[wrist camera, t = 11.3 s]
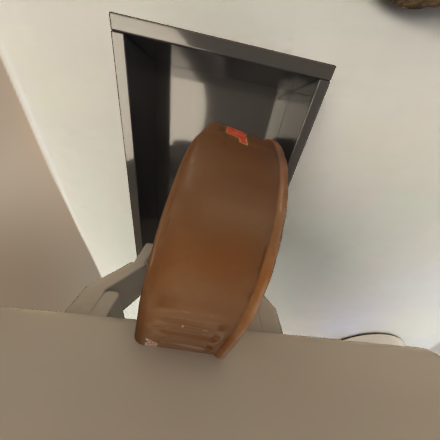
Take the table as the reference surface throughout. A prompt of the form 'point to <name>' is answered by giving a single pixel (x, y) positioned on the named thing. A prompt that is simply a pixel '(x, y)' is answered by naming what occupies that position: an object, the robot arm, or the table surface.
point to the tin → (214, 243)
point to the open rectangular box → (202, 102)
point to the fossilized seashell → (417, 3)
